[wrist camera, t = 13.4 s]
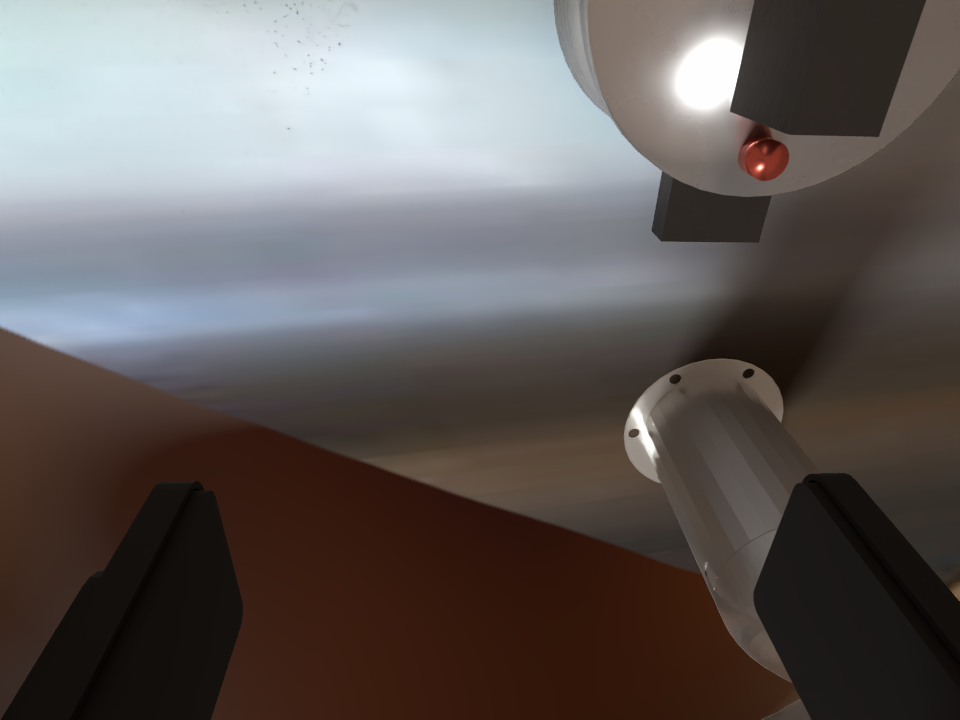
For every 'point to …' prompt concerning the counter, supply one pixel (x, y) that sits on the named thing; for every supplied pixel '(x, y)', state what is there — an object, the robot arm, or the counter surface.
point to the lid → (767, 83)
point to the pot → (678, 204)
